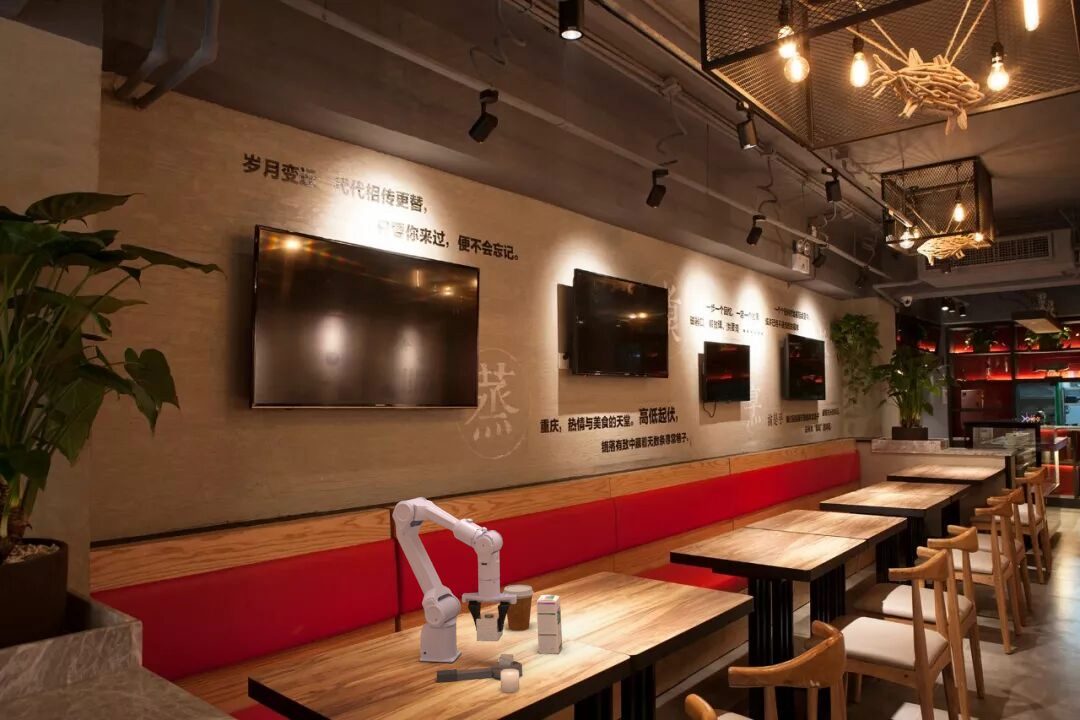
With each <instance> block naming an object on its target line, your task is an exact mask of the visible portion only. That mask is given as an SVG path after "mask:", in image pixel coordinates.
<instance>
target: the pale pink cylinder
mask: <svg viewBox="0 0 1080 720" xmlns="http://www.w3.org/2000/svg"><path fill="white" fill-rule="evenodd" d="M519 690H520V677H519V671H518V670H516V669H505V670H502V671H501V680H500V691H501V692H503V693H506V694H508V693H509V694H512V693H517V692H519Z"/></svg>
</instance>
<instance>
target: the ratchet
mask: <svg viewBox="0 0 1080 720" xmlns="http://www.w3.org/2000/svg"><path fill="white" fill-rule="evenodd" d="M505 669H516V670H518V671H519V678H521V677H522V676H523V664H522V663H521V662H519V661H514V653H513V654H511V653H510V654H509V653H501V655H500V656H499V657H498V662H497V661H496V662H494V663H493V664H491V665H490V667H481V668H479V667H478V668H470V669H469V668H467V669H457V668H455V669H443V670H436V683H448V682H450V683H451V682H459V681H467V680H469V681H470V680H478V679H479V680H480V679H490V678H492V679H494V680H497V681H501V671H502V670H505Z"/></svg>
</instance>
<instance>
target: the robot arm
mask: <svg viewBox="0 0 1080 720" xmlns="http://www.w3.org/2000/svg"><path fill="white" fill-rule="evenodd" d="M392 519H393V520H394V523H395V530H396V532H395V534H396V539H397V540H398V543H399V545H400V547H401V549H402V551H403V553H404V555H405V557H406V559H407V561H408V564H409V565H410V567H411V570H412V572H413V574H414V576H415V578H416V580H417V582H418V584H419V587H420V589H421V591H422V593H423V595H424V596H423V599H422V602H421V605H422V607H423V611H424V618H425V621H426V622H427V623H424V624H423V625H422V627H421V629H420V638H419V639H420V644H419V645H420V658H419V661H420V662H434V663H454V662H455V661H456V660H457V659H458V658H459V656H461V654H462V650H457V649H458V648H457V647H458V646H457V622H458V621H457V620H458V619H457V617H458V616H459V614H460V613H461V610H462V609H461V608H462V607H461V606H462V605H461V603H468V605H467V609H468V611H469V612H470V614H471V617H472V619H473V623H474V626H475V631H476V632H477V626H476V619H477V618H478V617H479V616H480V614H481V610H482V609H481V608H482V603H496V604H498V605H497V611H498V612H497V613H499V632H502V631H503V630H504V626H505V621H506V617H507V611H508V609H509V607H510V604H515V603H516V602H517V595H512V594H504V593H503V592H502V593H501V587H500V586H501V584H500V583H501V580H500V578H501V577H500V576H501V574H500V572H501V571H500V562H501V561H500V550H501V549H502V547H503V545H504V541H503V537H502V535H501V533H499V532H497V531H496V530H492V529H491V530H488V528H487V527H485V526H483V527H481V526H480V525H478V524H476V523H474V522H473V521H474V520H473V518H461V519H458V518H456V517H455V516H453V515H452V514H450V513H448V512H447V511H445V510H444V509H443V508H440V507H439V506H437V505H436V504H434V502H433V501H431V500H427V498H425V497H422V496H421V497H416V498H413V499H412V498H411V499H409V500H401V501H399V502H398V503H397V504H396V505H395V507H394V509H393V512H392ZM428 520H429V521H431V522H433V523H435V524H437V525H439V526H441V527H443V528H445V529H448V530H450V531H451V532H452V533H453V535H454V538H456V539H457V540H459V541H461V542H462V543H464V544H466V545H468V546H469V547H471V548H473V549H474V552H475V553H476V555H477V567H478V569H477V571H478V572H477V574H478V578H477V579H478V583H477V584H478V586H477V587H478V592H469V593H467V592H464V593H463V594H462V595H461V601H462V602H460V599H458V597H456V596H455V595H454V594H453V593H452V591H451V589H450V588H449V587H447V586H445V585H443V584H442V581H441V579H440V577H439V575H438V573H437V571H436V569H435V567H434V565H433V562H432V561H431V559H430V556H429V555H428V552H427V550H426V549H425V546H424V544H423V543H422V540H421V538H420V536H419V532H420V530H421V526H422V525H423V524H424V523H425V521H428Z"/></svg>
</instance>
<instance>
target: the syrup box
mask: <svg viewBox="0 0 1080 720" xmlns="http://www.w3.org/2000/svg"><path fill="white" fill-rule="evenodd" d="M561 611H562V610H561V596H560V595H559V594H542V595H541V594H540V597H538V598H537V600H536V616H537V617H536V618H537V619H536V621H537V643H538V645H537V646H538V653H539V654H545V653H549V654H548V655H550V654H551V655H558V653H559V654H560V652H561V650H562V648H563V638H562V637H563V635H562V614H561V613H562V612H561ZM552 653H553V654H552Z"/></svg>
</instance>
